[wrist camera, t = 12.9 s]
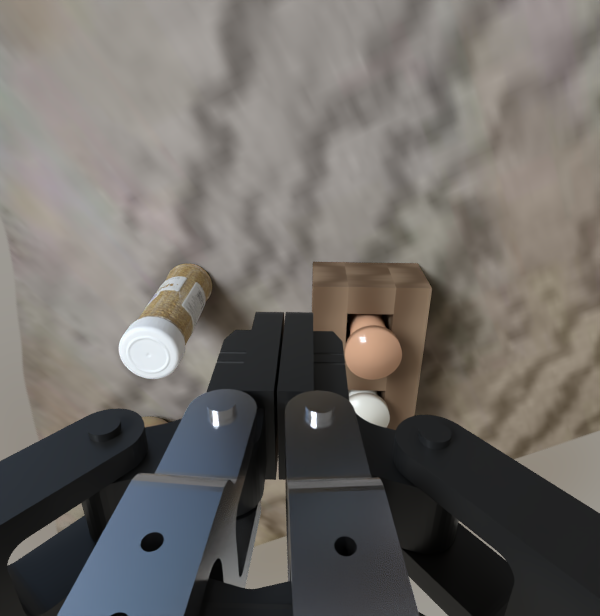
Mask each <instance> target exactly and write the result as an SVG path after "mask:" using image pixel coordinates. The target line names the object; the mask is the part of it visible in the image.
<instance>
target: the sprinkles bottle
mask: <svg viewBox="0 0 600 616" xmlns="http://www.w3.org/2000/svg"><path fill="white" fill-rule="evenodd" d="M211 292H212V282H211V278H210V276H209V275H208V273H207V272H206V271H205V270H204V269H202V268H201V267H200V266H198V265H195V264H181V265H178V266H176V267H175V268H173V269H172V270H171V271H170V273H169V274H168V276H167V279H166V280H165V282H164V283H163V284H162V285H161V286H160V288H159V289H158V291H157V292H156V294H155V295H154V297H153V298H152V299H151V301H150V302H149V304H148V305H147V306H146V308H145V310H144V312H143V313H142V314H141V316H140V317H139V319H138V320H136V321H135V322H133V323H132V324H131V325H130V326H129V328H128V329H127V331H126V332H125V333H124V335H123V336H122V338H121V340H120V343H119V354H120V358H121V360H122V362H123V363H124V365H125V366H126V367H127V368H128V369H129V370H130V371H131V372H133V373H134V374H136V375H138V376H140V377H143V378H148V379H159V378H163V377H166V376H168V375H170V374H171V373H172V372H174V371H175V369H176V368H177V367H178V365H179V363H180V361H181V359H182V357H183V355H184V352H185V345H186V343H187V341H188V339H189V338H190V336H191V334H192V333H193V330H194V328H195V326H196V324H197V321H198V319H199V317H200V315H201V313H202V311H203V309H204V306H205V302H206V301H207V300H208V298H209V297H210V295H211Z"/></svg>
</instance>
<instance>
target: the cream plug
mask: <svg viewBox="0 0 600 616" xmlns="http://www.w3.org/2000/svg"><path fill="white" fill-rule="evenodd" d="M348 393H349V401H350V403H351V404H352V405H353V407H354V410H355V413H356V414H358V415H359V416H360V417H361V418H363V419H364V420H366V421H368V422H370V423H372V424H375V425H378V426H381V427H385V428H387V426H388V424H389V421H390V415H389V411H388V407H387V404H386V402H385V401H384V400H383V399H382V398H381V397H380V396H378V395H377V391H364V390H348Z"/></svg>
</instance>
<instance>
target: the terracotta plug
mask: <svg viewBox="0 0 600 616" xmlns="http://www.w3.org/2000/svg"><path fill="white" fill-rule="evenodd" d="M348 322H349V329H350V337H349V338H348V340H347V341H346V344H345V360H346V364H347V366H348V368H349V369H350V370H351V372H352V373H354V374H355V375H357V376H358V377H361V378H364V379H369V380H375V379H381V378H384V377H386V376H388V375H390V374H391V373H393V372H394V371H395V370H396V369H397V367H398V366H399V364H400V362H401V359H402V349H401V346H400V343H399V340H398V338H397V337H396V335H395V334H394V333H393V332H392V331H391V330H389V329H387V328H386V326H385V323H384V320H383V316H382V314H348Z"/></svg>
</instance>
